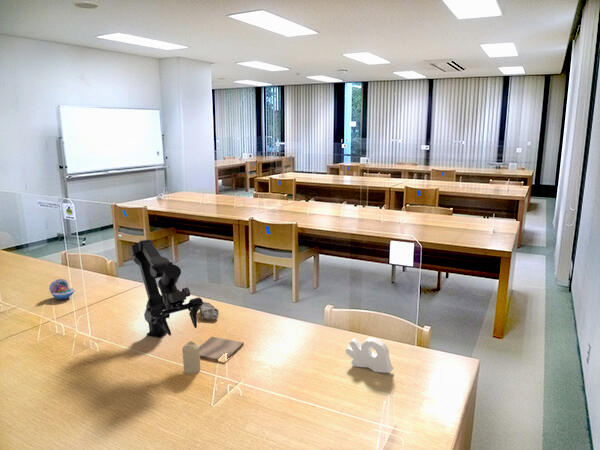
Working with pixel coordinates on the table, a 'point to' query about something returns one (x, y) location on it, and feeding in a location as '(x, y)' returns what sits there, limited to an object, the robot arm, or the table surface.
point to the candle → (191, 358)
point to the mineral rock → (208, 311)
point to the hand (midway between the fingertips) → (183, 331)
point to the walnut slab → (218, 348)
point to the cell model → (60, 289)
